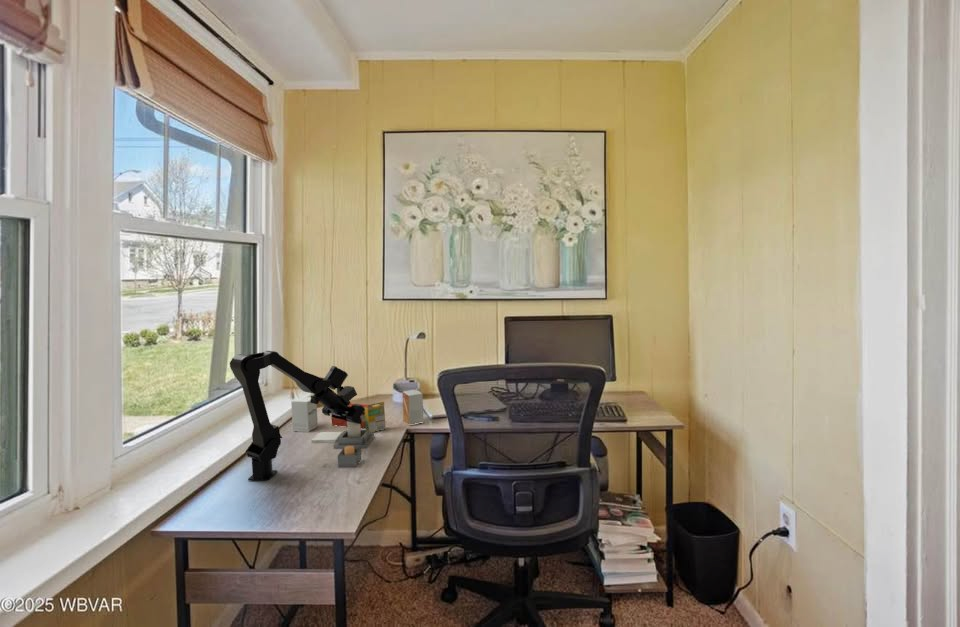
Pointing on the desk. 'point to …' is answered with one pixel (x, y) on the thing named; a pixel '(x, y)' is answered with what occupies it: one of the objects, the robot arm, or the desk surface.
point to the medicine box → (344, 423)
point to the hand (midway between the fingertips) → (356, 421)
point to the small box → (412, 406)
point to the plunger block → (349, 458)
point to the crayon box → (375, 417)
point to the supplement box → (304, 415)
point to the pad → (326, 437)
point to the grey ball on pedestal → (353, 429)
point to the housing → (354, 440)
